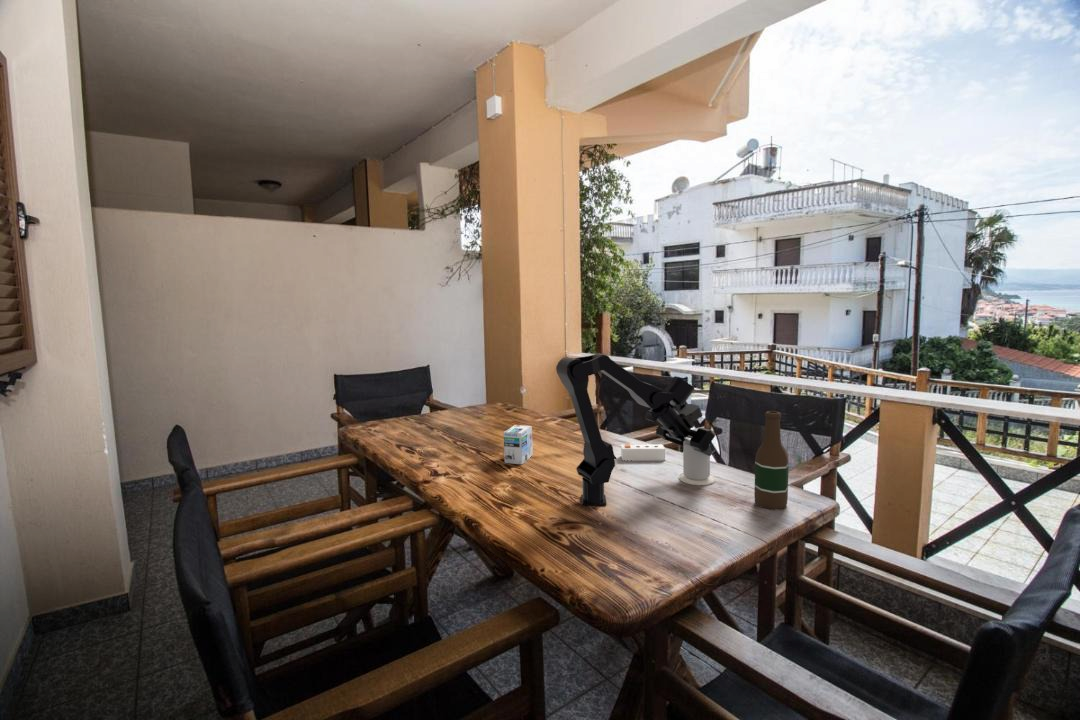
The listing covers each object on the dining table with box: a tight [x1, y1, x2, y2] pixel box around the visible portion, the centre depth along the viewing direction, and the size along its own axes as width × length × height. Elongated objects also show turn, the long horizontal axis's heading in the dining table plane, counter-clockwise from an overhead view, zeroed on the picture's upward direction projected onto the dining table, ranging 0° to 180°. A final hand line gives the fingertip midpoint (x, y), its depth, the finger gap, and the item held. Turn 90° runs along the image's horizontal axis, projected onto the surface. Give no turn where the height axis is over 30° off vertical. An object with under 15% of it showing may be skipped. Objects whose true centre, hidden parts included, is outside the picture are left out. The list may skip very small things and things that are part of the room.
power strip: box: [620, 443, 666, 462], centre depth 163 cm, size 5×14×5 cm, turn 86°
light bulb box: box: [503, 424, 534, 465], centre depth 166 cm, size 11×7×11 cm, turn 161°
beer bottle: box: [754, 410, 790, 511], centre depth 123 cm, size 8×8×24 cm
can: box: [682, 437, 711, 481], centre depth 142 cm, size 8×8×12 cm
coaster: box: [678, 472, 716, 486], centre depth 143 cm, size 10×10×1 cm
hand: (699, 450), depth 142 cm, fingers open, 9 cm apart
